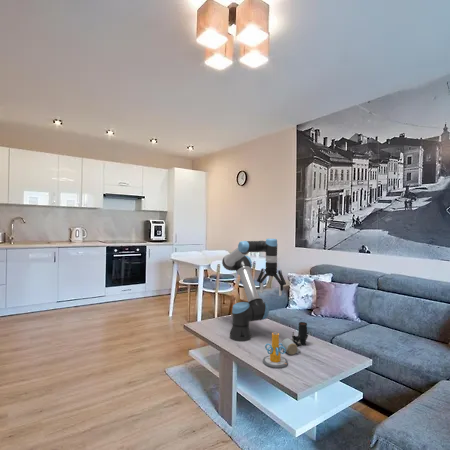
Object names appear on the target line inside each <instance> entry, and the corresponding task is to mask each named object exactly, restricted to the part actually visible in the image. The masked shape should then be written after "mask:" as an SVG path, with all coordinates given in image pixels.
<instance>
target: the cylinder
mask: <svg viewBox="0 0 450 450" xmlns="http://www.w3.org/2000/svg"><path fill="white" fill-rule="evenodd" d="M267 346H268V347H267ZM282 348H283V349H284V350H283V349H282ZM264 349H265V350H266V351H267V354H269V356H270V361H272V362H280V360H281V357H282V355H284V354H286V353H287V352H286V349H285V348H284V347H283V345H282V342H280V333H279V332H271V344H270V343H265V346H264ZM282 350H283V352H282Z"/></svg>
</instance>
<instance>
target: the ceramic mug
mask: <svg viewBox="0 0 450 450" xmlns="http://www.w3.org/2000/svg"><path fill="white" fill-rule="evenodd" d="M291 339H292V338H288V337H287V338H286V337H285V338H284V339H283V340H282V341H281V344H282V345H283V347H284V348H285V349H286V352H285V353H287V354H289V355H291V356H292V355H293V356H294V355H295V354H297V353H298V354H299V353H300V352H301V349H299V347H297V345H296V344H295V343H294V342H293V341H292V340H291ZM282 350H283V351H284V349H283V348H282ZM300 354H301V353H300Z"/></svg>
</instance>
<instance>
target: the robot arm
mask: <svg viewBox="0 0 450 450" xmlns="http://www.w3.org/2000/svg"><path fill="white" fill-rule="evenodd" d="M249 253H265V267H262V268H261V269H260V273H259V275H258V278H257V279H256V282H257V283H258V284H259V285H258V287H259V288H260V289H259V291H260V294H263V293H264V281H265V279H266V278H268V277H274V278H275V280H276V282H277V283H278V284H279V286H278V297H281V296H282V295H283V291H284V286H285V285H286V284H287V282H286V280H285V278H284V275H283V273H282V269H280V270H279V269H277V268H278V240H277V239H276V238H266V239H265V240H241V241H239V242H238V244H237V248H235V249H234V250H233V251H232V252H231V253H229V254H226V255H225V256H224V257H223V258H222V261H221V264H222V266H223V268H224V269H225V270H227V271H233V272H234V271H236V272H235V273H236V274H237V275H239V277H240V281H241V284H242V287H243V290H244V292H245V296H246V298H247V299H246V300H247V301H248V302H247V301H239V302H236V303H234V304H233V305H232V310H231V312H232V314H231V315H232V319H231V320H232V321H231V322H232V323H231V324H232V325H231V328H230V331H229V332H230V333H229V339H230V340H233V341H237V342H238V341H239V342H245V341H250V340H251V339H252V331H251V329H250V322H256V321H262V320H266V319H267V318H268V317H269V315H270V314H269V313H270V309H269V308H270V307H269V304H268V303H267V302H264V300H263V298H261V297H260V295H259V292H258V291H257V287H256V285H255V282H254V279H253V276H252V273H251V270H252V268H253V262H252V259H251V257H249V255H247V254H249ZM264 272H265V274H264Z"/></svg>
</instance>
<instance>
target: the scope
mask: <svg viewBox="0 0 450 450" xmlns="http://www.w3.org/2000/svg"><path fill="white" fill-rule="evenodd" d="M307 326H308V323H307V322H304V321H300V322H298V333H297V335H294V334H295V332H294V331H292V334H291V335H292V336H291V337H292V338H290V339H291V340H292V341H293V342H294V343H295V344H296V345H297V348H299V347H301V346H303V347H304V346H306V344H307V340H308V337H309V334H308V327H307Z"/></svg>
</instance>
